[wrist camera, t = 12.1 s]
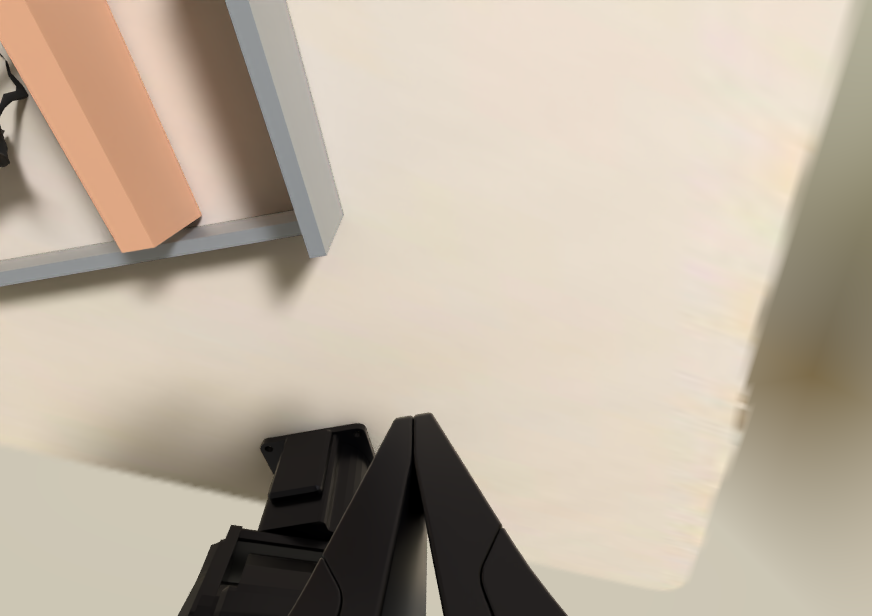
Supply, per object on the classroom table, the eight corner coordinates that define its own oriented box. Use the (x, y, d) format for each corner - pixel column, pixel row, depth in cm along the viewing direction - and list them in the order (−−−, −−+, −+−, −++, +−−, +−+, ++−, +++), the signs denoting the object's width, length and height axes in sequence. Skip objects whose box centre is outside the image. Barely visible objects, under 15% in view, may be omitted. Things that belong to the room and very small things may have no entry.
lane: (347, 229, 19) (332, 273, 15) (-29, 293, 19) (-154, 355, 15) (233, -195, 12) (143, -343, 8) (-342, -91, 13) (-735, -182, 8)
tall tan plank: (201, 215, 18) (154, 247, 15) (175, 219, 18) (122, 253, 15) (68, -84, 13) (-51, -143, 10) (32, -77, 13) (-100, -134, 10)
